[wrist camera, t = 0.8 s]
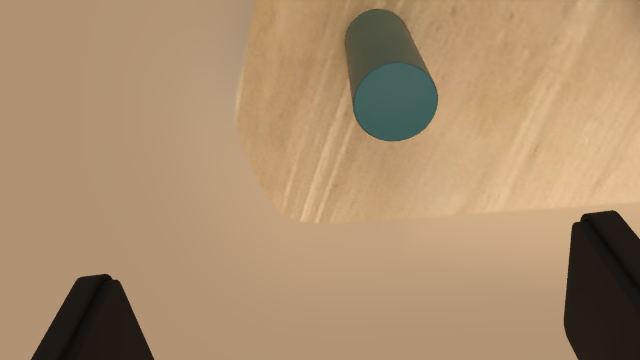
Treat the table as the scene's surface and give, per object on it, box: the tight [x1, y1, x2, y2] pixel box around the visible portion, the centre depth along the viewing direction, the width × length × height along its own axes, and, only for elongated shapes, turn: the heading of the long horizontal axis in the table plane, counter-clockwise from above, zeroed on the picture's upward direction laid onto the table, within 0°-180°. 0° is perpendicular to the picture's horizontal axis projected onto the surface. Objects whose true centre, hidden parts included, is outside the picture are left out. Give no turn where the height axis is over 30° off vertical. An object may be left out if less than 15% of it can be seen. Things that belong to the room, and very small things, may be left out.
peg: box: [345, 9, 438, 141], centre depth 24 cm, size 3×3×8 cm
